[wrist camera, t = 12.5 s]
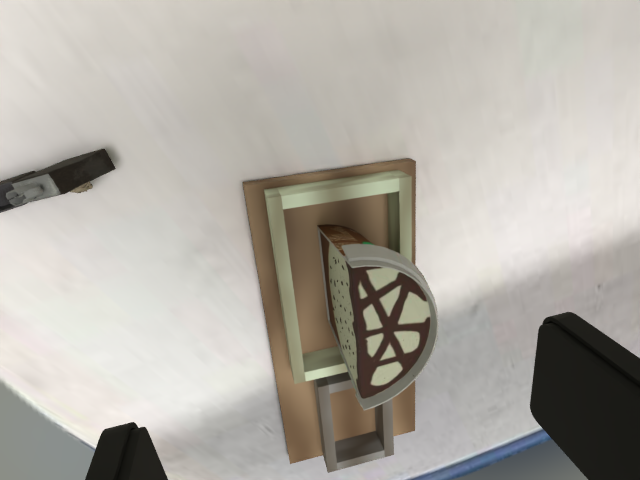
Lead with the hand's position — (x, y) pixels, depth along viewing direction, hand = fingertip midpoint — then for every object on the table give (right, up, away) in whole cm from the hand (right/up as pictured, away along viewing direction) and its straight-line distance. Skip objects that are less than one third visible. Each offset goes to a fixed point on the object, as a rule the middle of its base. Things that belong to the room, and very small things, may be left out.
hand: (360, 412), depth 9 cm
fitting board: (+1, -4, +29) cm, 30 cm away
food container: (+2, +2, +26) cm, 26 cm away
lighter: (-20, +8, +19) cm, 29 cm away
